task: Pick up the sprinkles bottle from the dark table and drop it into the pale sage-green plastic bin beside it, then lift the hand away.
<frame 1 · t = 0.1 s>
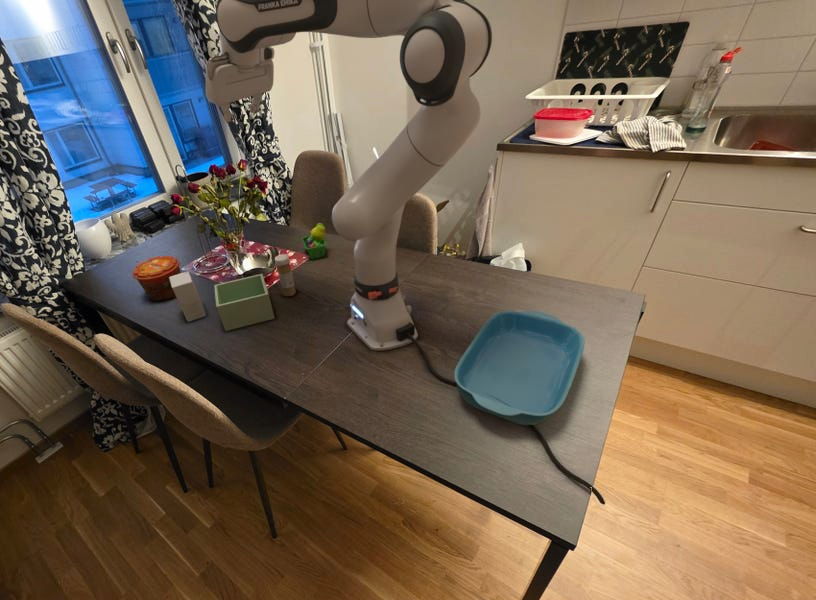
hand: (241, 116, 99), 52 cm above the table, tool tilted 20°, fingers open, 8 cm apart
bin: (247, 313, 125), on the table
small box: (195, 313, 129), on the table
casserole dish: (514, 377, 92), on the table
fruit basket: (317, 253, 152), on the table
sprinkles bottle: (289, 293, 132), on the table
food container: (167, 292, 142), on the table
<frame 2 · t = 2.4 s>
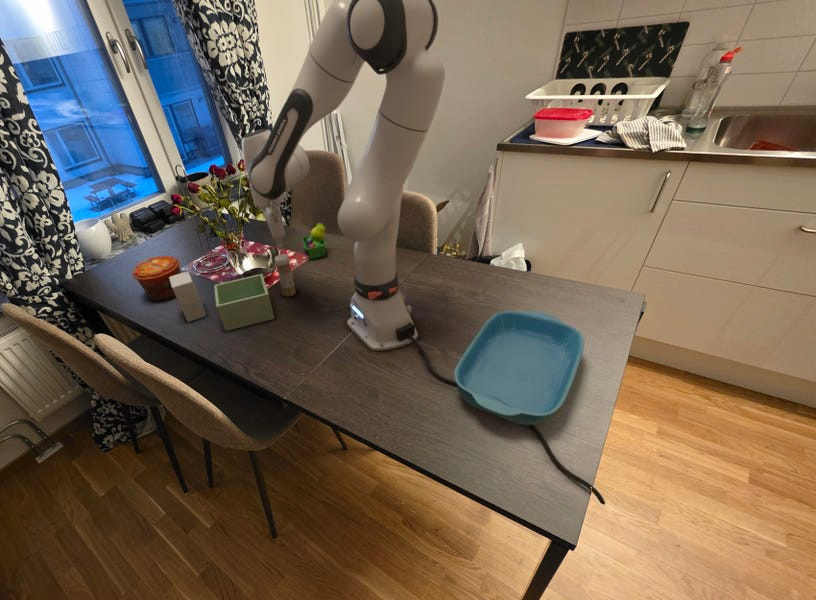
hand: (277, 241, 119), 19 cm above the table, tool pointing down, fingers open, 8 cm apart
nothing on the table moved.
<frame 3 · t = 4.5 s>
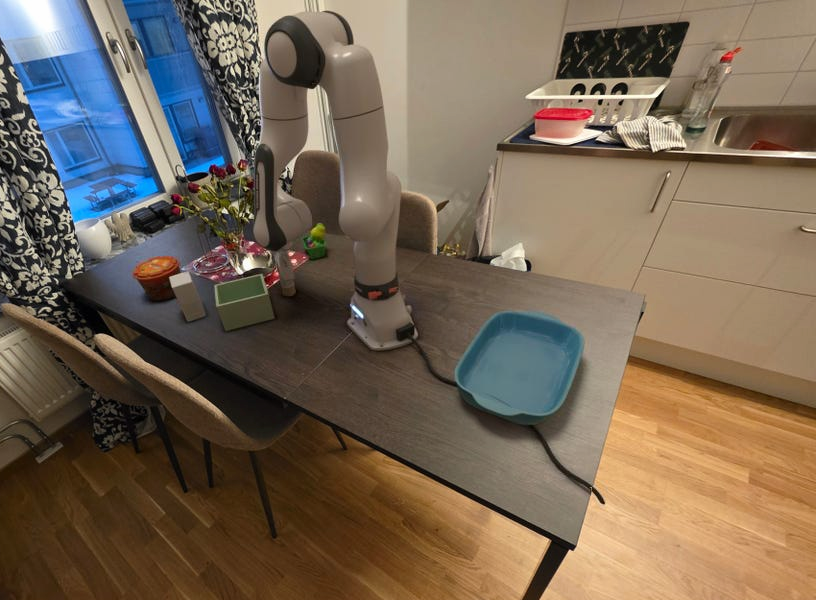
hand: (286, 280, 128), 5 cm above the table, tool pointing down, fingers closed on sprinkles bottle, 4 cm apart
sprinkles bottle: (289, 293, 132), on the table, touching gripper
everything else where it was.
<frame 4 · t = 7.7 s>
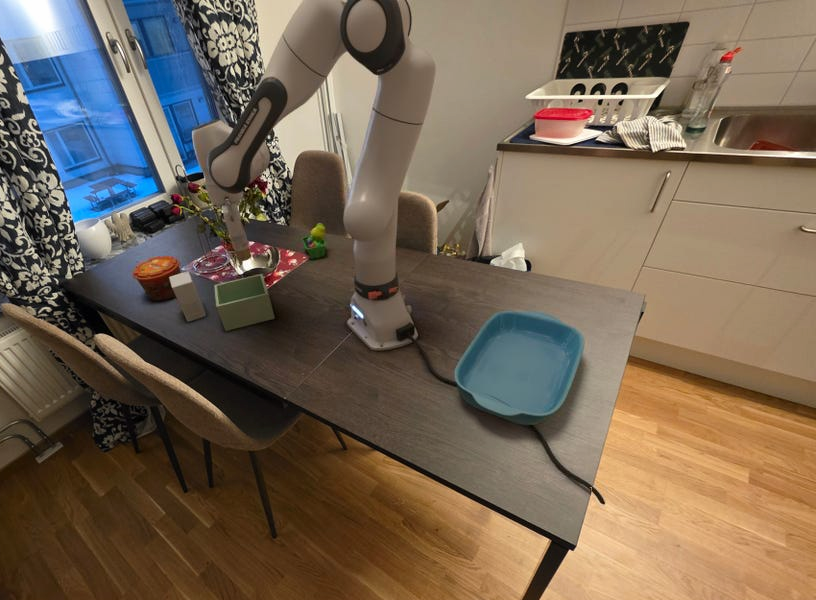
hand: (239, 241, 111), 23 cm above the table, tool pointing down, fingers closed on sprinkles bottle, 4 cm apart
sprinkles bottle: (244, 258, 115), point 18 cm above the table, touching gripper
everything else where it was.
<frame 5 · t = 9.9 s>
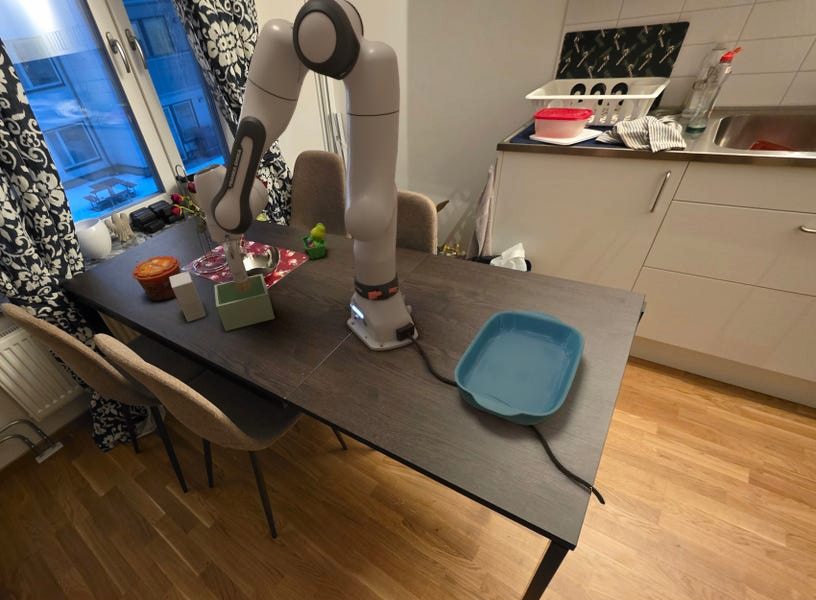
hand: (239, 274, 116), 14 cm above the table, tool pointing down, fingers closed on sprinkles bottle, 4 cm apart
sprinkles bottle: (244, 289, 119), point 9 cm above the table, touching gripper
everything else where it was.
when the fingers open (10 cm above the table, at t = 11.4 s): sprinkles bottle drops 4 cm, resting on bin.
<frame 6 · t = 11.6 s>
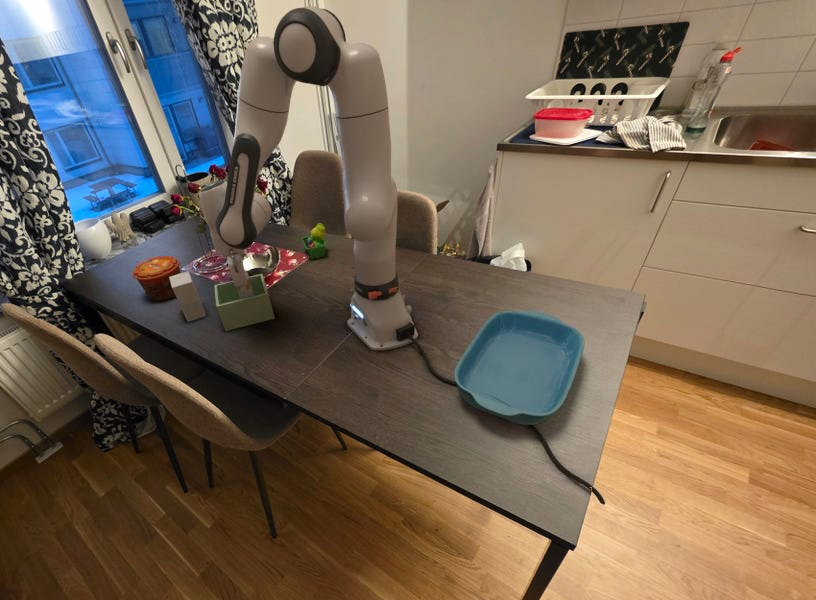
hand: (242, 285, 118), 10 cm above the table, tool pointing down, fingers open, 5 cm apart
sprinkles bottle: (250, 310, 124), point 1 cm above the table, touching bin, gripper
everything else where it was.
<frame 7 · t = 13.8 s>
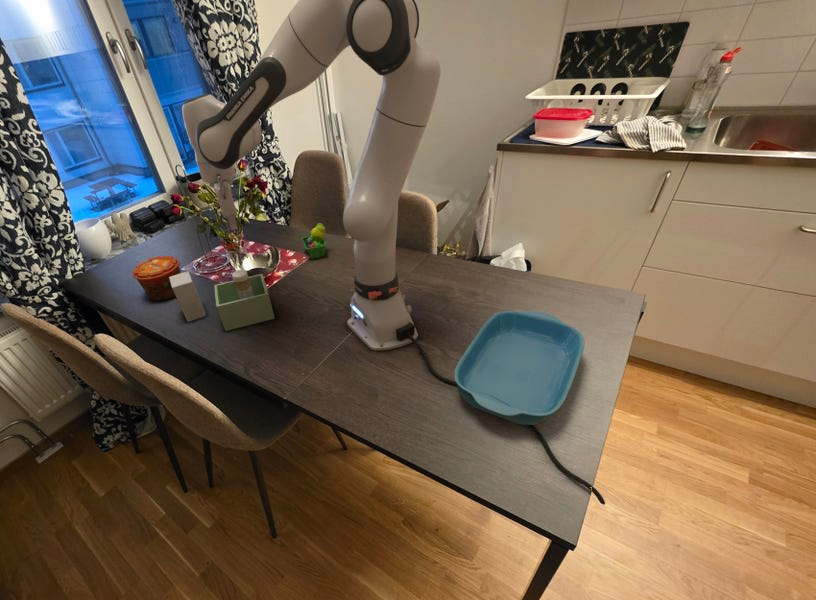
hand: (232, 222, 109), 28 cm above the table, tool pointing down, fingers open, 8 cm apart
sprinkles bottle: (250, 310, 124), point 1 cm above the table, touching bin
everything else where it was.
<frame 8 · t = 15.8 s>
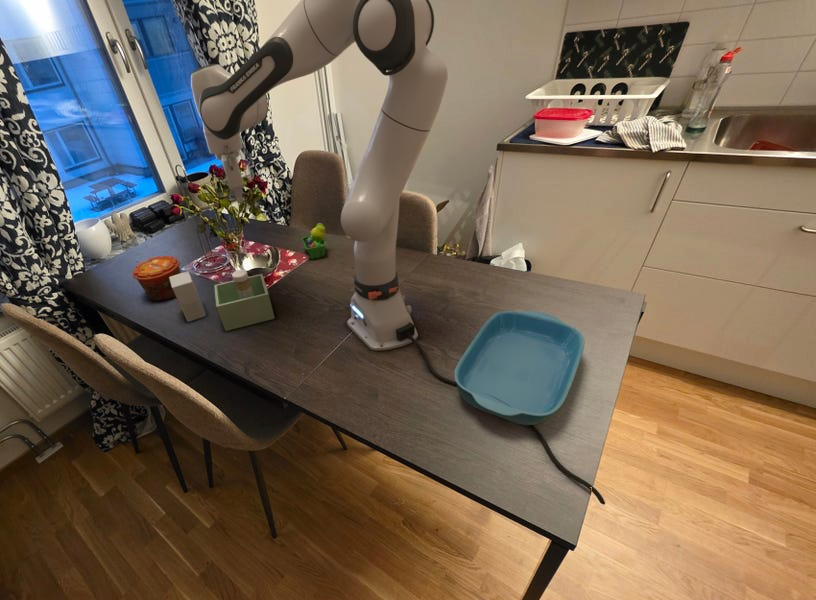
hand: (239, 196, 110), 33 cm above the table, tool pointing down, fingers open, 8 cm apart
nothing on the table moved.
at the end: sprinkles bottle inside the target area in the bin (1.1 cm from its centre), point 0.8 cm above the bin's base; the gripper is holding nothing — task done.
